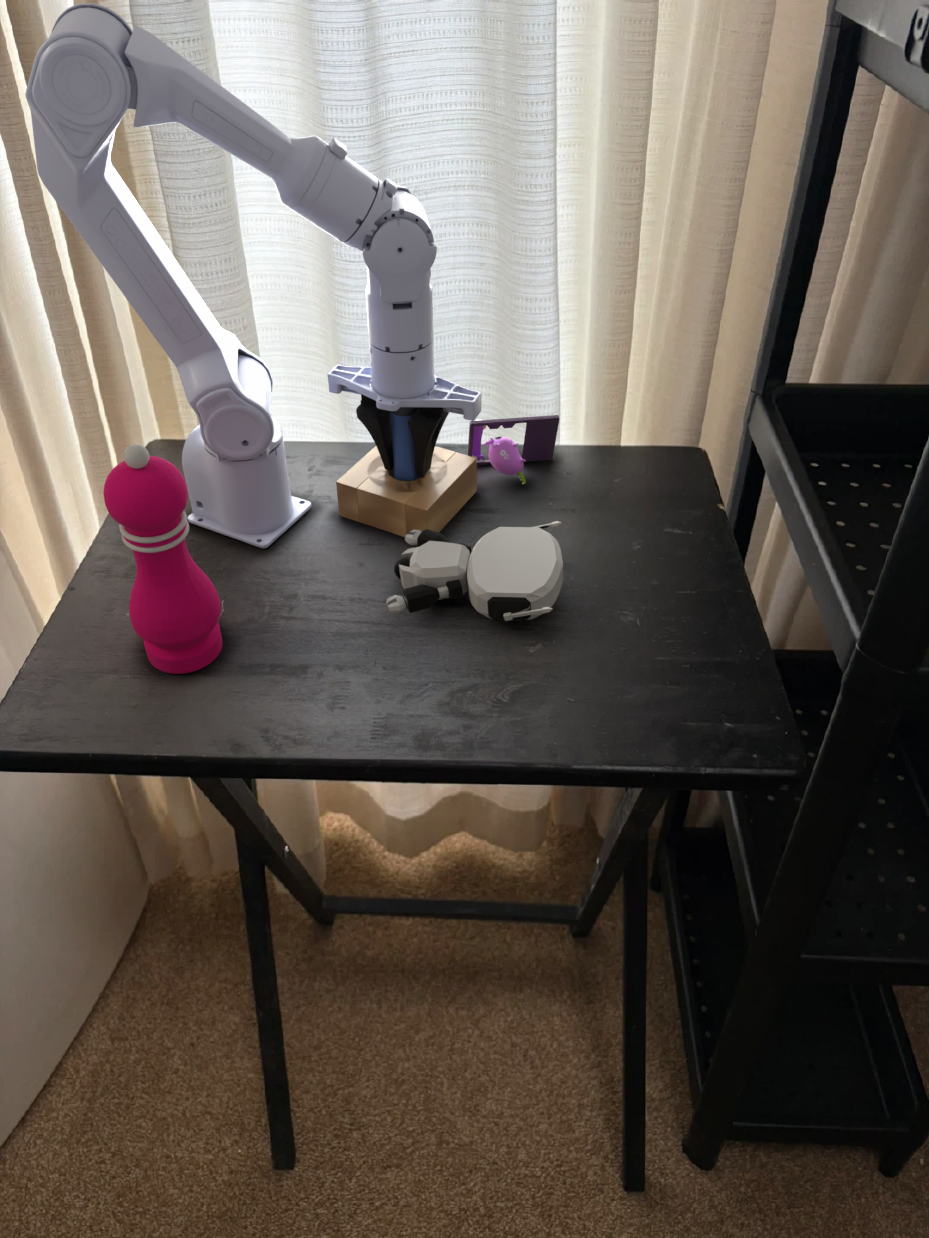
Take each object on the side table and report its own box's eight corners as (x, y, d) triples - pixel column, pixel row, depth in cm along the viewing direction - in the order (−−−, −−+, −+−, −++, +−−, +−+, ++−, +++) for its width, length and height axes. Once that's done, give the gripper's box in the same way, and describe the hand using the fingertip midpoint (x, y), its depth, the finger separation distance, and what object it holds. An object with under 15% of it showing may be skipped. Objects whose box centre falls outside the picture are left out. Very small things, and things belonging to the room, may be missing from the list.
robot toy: (385, 638, 89) (559, 644, 87) (378, 598, 86) (558, 603, 84) (409, 551, 98) (567, 554, 96) (403, 512, 95) (567, 515, 93)
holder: (339, 515, 101) (335, 481, 98) (392, 465, 108) (390, 432, 105) (427, 545, 98) (426, 510, 95) (476, 491, 104) (477, 457, 102)
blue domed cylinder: (390, 493, 101) (384, 398, 94) (401, 478, 103) (396, 384, 96) (416, 498, 100) (412, 404, 93) (427, 483, 102) (424, 389, 95)
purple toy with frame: (558, 409, 103) (468, 415, 102) (566, 450, 101) (475, 457, 100) (550, 451, 109) (466, 457, 108) (558, 491, 107) (472, 497, 106)
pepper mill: (228, 615, 90) (186, 415, 77) (229, 673, 85) (184, 468, 72) (144, 625, 89) (86, 424, 76) (139, 684, 84) (76, 479, 71)
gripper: (306, 344, 90) (321, 474, 99) (461, 373, 86) (462, 506, 95) (342, 310, 95) (353, 438, 104) (490, 336, 91) (488, 466, 100)
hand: (407, 468), depth 100 cm, fingers closed on blue domed cylinder, 3 cm apart
